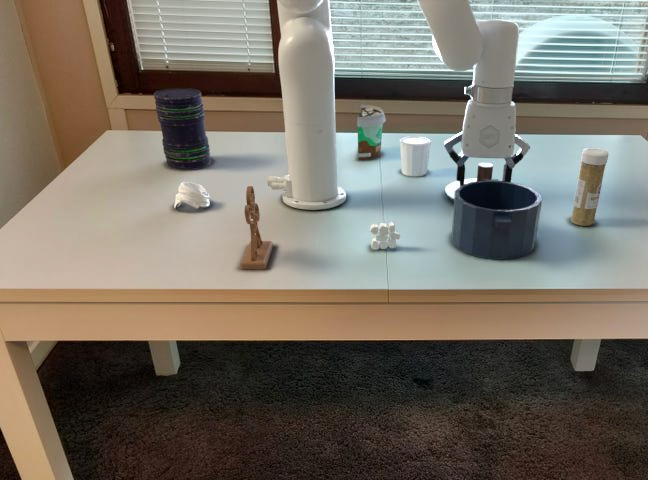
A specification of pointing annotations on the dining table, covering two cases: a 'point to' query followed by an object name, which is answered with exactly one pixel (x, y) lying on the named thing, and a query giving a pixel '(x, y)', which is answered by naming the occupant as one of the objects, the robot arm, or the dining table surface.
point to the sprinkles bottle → (589, 186)
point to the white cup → (414, 155)
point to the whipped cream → (192, 195)
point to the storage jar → (183, 128)
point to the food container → (370, 132)
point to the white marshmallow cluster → (384, 236)
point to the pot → (495, 219)
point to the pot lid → (482, 174)
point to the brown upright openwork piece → (255, 237)
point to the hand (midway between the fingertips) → (483, 184)
